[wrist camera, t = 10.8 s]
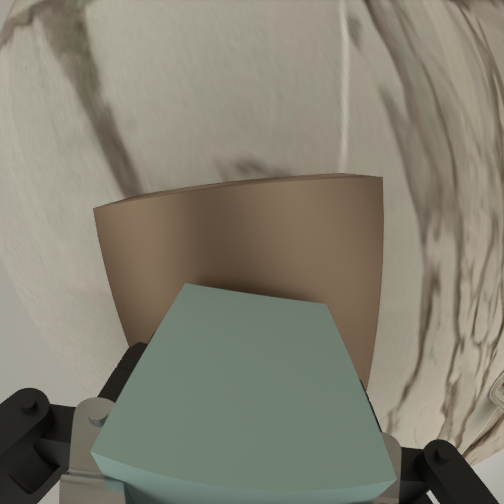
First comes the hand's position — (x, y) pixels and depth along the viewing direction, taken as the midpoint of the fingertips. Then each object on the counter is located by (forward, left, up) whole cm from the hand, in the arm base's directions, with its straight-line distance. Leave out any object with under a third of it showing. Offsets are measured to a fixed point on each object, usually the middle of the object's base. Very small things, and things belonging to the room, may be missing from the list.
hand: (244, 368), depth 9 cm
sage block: (0, 0, -1) cm, 1 cm away
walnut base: (0, 0, -9) cm, 9 cm away
